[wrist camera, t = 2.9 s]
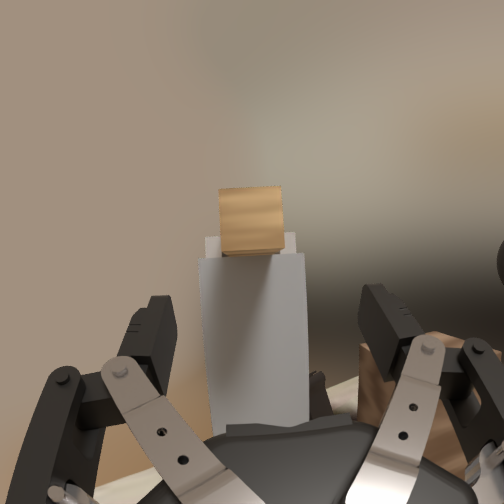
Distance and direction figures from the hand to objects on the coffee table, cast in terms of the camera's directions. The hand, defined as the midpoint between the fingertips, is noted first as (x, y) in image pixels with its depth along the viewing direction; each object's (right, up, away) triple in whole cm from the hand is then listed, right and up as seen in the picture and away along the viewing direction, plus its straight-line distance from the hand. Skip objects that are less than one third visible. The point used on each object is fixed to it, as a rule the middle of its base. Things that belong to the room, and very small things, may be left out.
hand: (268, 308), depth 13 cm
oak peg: (-1, +2, +20) cm, 20 cm away
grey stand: (+1, -30, +23) cm, 38 cm away
